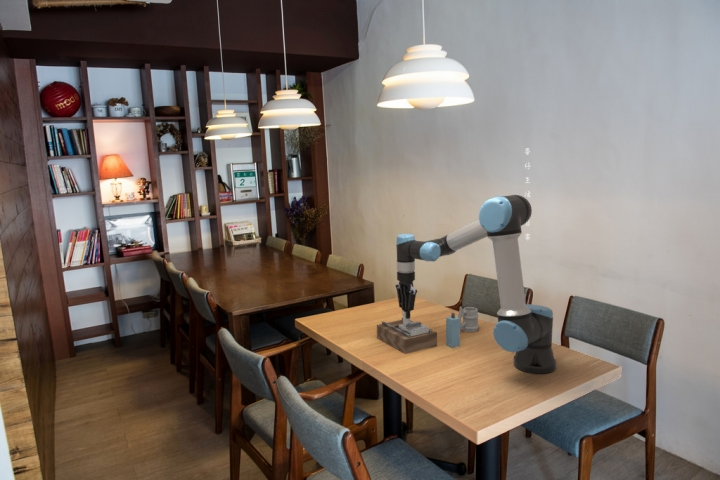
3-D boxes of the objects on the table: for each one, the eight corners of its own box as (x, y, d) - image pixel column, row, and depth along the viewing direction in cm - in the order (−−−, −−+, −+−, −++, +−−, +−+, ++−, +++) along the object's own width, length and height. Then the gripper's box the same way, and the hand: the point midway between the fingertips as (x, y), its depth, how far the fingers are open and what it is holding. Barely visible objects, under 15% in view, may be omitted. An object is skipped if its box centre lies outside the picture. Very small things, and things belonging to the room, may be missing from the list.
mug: (482, 330, 237) (482, 304, 235) (463, 335, 230) (463, 309, 228) (470, 326, 243) (470, 301, 241) (451, 331, 237) (451, 305, 235)
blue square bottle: (459, 346, 218) (459, 313, 216) (452, 347, 216) (452, 315, 214) (453, 343, 222) (453, 311, 220) (446, 345, 220) (446, 312, 218)
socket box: (436, 346, 219) (436, 329, 218) (405, 353, 211) (405, 336, 210) (407, 331, 238) (407, 316, 237) (377, 338, 230) (376, 322, 229)
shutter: (428, 332, 217) (428, 324, 216) (410, 336, 213) (410, 328, 212) (416, 326, 225) (416, 318, 224) (398, 330, 220) (398, 322, 220)
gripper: (422, 272, 215) (422, 327, 219) (404, 267, 227) (405, 319, 230) (407, 275, 212) (407, 331, 216) (390, 269, 223) (390, 322, 227)
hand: (406, 325), depth 223 cm, fingers closed
